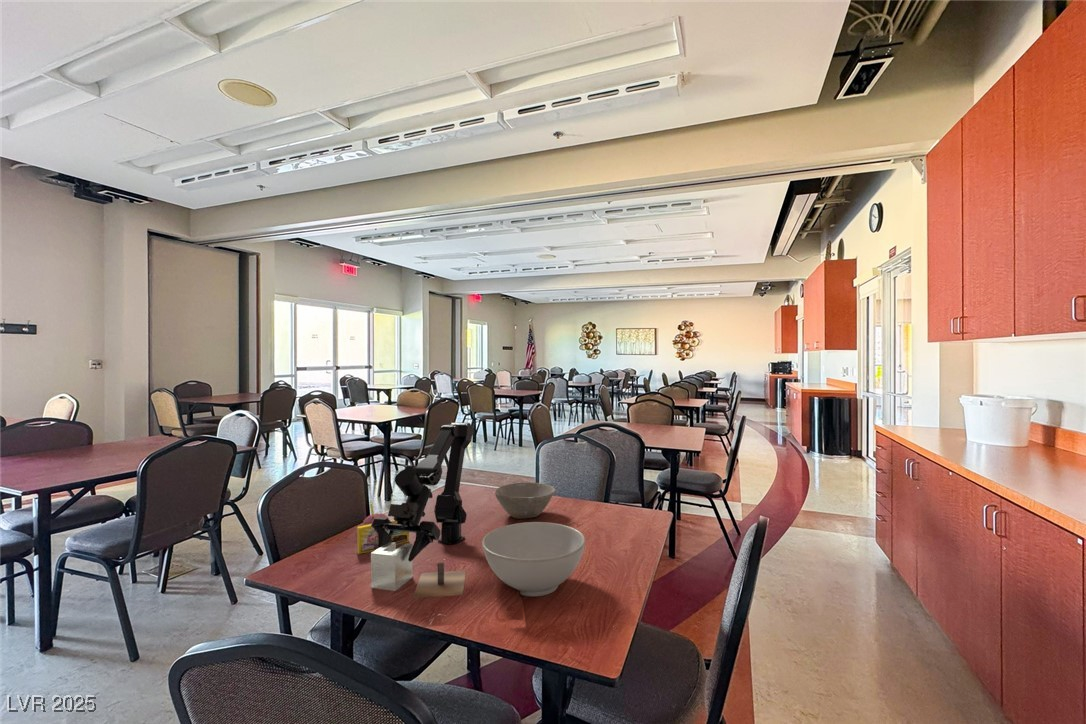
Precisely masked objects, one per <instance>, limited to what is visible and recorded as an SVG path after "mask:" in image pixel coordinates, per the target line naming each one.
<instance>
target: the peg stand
mask: <svg viewBox="0 0 1086 724" xmlns="http://www.w3.org/2000/svg"><path fill="white" fill-rule="evenodd" d="M466 572H467V571H466V570H453V571H445V565H444V562H439V563H437V571H436V572H433V571H432V572H421V573H420V576H419V579H418V582H417V584H416V588H415V591H414V593H413V596H412V599H424V598H436V597H437V598H440V597H452V596H453V597H455V596H463V594H464V588H465V581H466V580H465V579H466Z"/></svg>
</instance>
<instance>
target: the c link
mask: <svg viewBox="0 0 1086 724" xmlns="http://www.w3.org/2000/svg"><path fill="white" fill-rule="evenodd" d="M396 547H397V545H396V542H388V543H387V544H385V545H383V546H382V547H380V548H378V549H377V550H375V551H371V552H370V575H371V576H370V581H371V583H370V585H371V586H370V587H371V589H377V590H385V591H393V592H396V591H397V590H398V589H400V588H401V587H402V586H403V585H405V584H406V583H407V582H409V581H410V580H412V579H413V560H412V561H411V562H409V561H408V558H409V555H410V552H411V550H412V547H413V544H412V543H403V544H401V546H400V547H398V548H396Z"/></svg>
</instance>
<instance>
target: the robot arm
mask: <svg viewBox="0 0 1086 724" xmlns="http://www.w3.org/2000/svg"><path fill="white" fill-rule="evenodd" d="M439 429H440V430H439V434H438V435H437V437H436V439H435V441H434V442H433V445H432V447H431V449H430V450H429V452H428V455H427V456H426V457H425V458H423V459H421V460H419V462H418V464H417V465H416V466H414V465H407V466H406V467H405V468H404V469H402V470H401V471H399V472H398V473H397V474H396V475H395V477H394V483H395V485H396V486H397V487H398V488H399V490H400V492H401V493H402V494H403V495H404V496H406V497H407V498H406V501H405V502H402V503H401V504H396V503H390V504H389V510H388V513H387V517H388V518H389V517H393V519H394V520H395V521H397V523H392V522H391V521H390V520H391V519H388V518H381V517H377V518H375V519H374V520H373V522H372V524H371V526H372V527H373V528H374V530H375V531H376V532H377V533H378V548H380V547H382V546H383V545H385V544H387V543H388V542H390V540H391V538H392V537H391V536H390V535H391V534H393V532H394V531H403V532H409V533H413V534H414V533H415V540H414V542H413V544H412V550H411V552H410V555H409V558H408V561H409V562H411V561H412V562H413V561H414V559H415V558H416V557H417V556H418V555H419V554H420V553H421V552H422V551H423V550H424V549H425V548H426V547H427V546H428V545H429V544H431V543H432V544H433V543H434V542H435V541H437V542H438V543H443V544H447V545H456V544H457V543H460V542H461V541H463V540H465V539H466V536H464V535H463V536H462V525H463V524H466V521H467V512H466V511H465V509H464V508H463V500H462V496H461V494H460V486H461V479H462V473H463V467H464V466H463V465H464V460H465V459H464V458H465V453H466V452H465V451H466V449H467V448H468V446H469V445H470V443H471V442H472V438H473V435H474V426H472V425H471V423H470V422H455V421H454V422H451V423H450V424H444V425H442V426H440V428H439ZM448 452H449V455H448V456H449V458H448V463H447V468H446V475H445V482H444V488H443V491H442V492H441V494H437V496H436V500H435V501H436V502H435V506H434V510H433V511H434V517H435V521H436V522H435V521H428V520H422V521H421V519H422V517H423V518H424V517H425V516H426V512H425V509H426V506H427V503H428V500H429V499H433V498H434V497H433V493H432V489H431V488H429V487H428V486H436V485H438V484H439V482H440V481H441V479H442V475H443V467H442V466H443V465H442V464H443V462H444V460H445V458H446V456H447V454H448ZM436 523H437V524H439V523H441V529H440V528H439V527H438V525H437V524H436ZM440 536H441V537H440Z"/></svg>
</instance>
